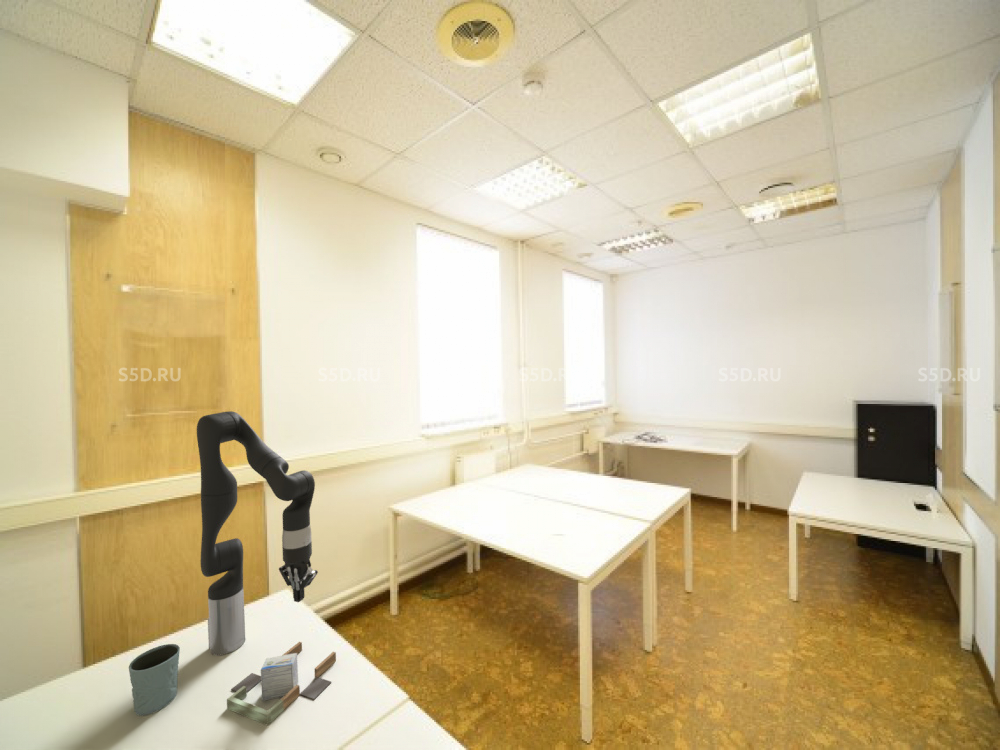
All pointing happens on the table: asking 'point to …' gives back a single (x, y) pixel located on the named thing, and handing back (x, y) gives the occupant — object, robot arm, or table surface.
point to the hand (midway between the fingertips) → (299, 600)
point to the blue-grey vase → (154, 678)
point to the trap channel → (268, 716)
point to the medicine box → (279, 676)
